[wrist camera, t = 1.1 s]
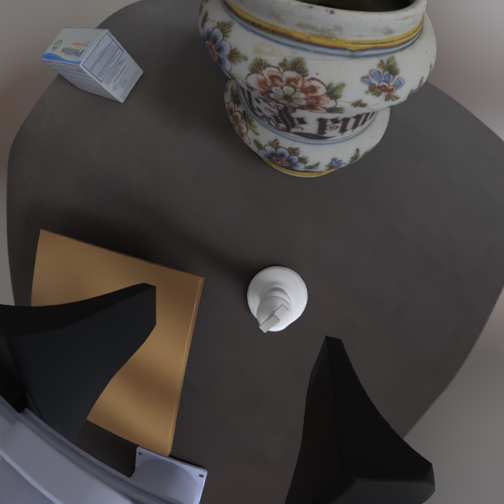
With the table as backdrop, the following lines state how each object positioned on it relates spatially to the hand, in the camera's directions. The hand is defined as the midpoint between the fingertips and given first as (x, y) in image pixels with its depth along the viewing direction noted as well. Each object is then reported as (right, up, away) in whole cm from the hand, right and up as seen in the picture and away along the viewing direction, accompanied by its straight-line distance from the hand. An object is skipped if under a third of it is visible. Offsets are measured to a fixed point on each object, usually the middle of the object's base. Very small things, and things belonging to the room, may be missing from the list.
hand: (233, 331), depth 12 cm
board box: (-13, -5, +14) cm, 20 cm away
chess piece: (+3, 0, +13) cm, 13 cm away
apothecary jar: (+5, +14, +13) cm, 20 cm away
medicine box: (-15, +22, +15) cm, 31 cm away
